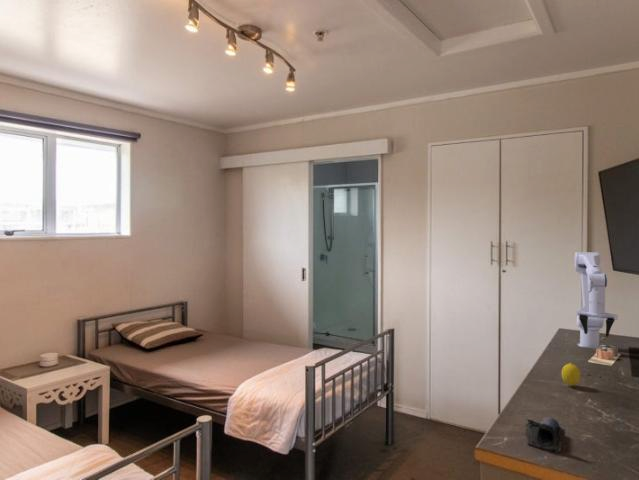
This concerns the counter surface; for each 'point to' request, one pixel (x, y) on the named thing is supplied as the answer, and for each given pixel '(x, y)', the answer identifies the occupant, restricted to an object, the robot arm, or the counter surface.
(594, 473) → the counter surface
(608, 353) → the gear
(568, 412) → the counter surface
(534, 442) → the black camera
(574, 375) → the lemon
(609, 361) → the board
